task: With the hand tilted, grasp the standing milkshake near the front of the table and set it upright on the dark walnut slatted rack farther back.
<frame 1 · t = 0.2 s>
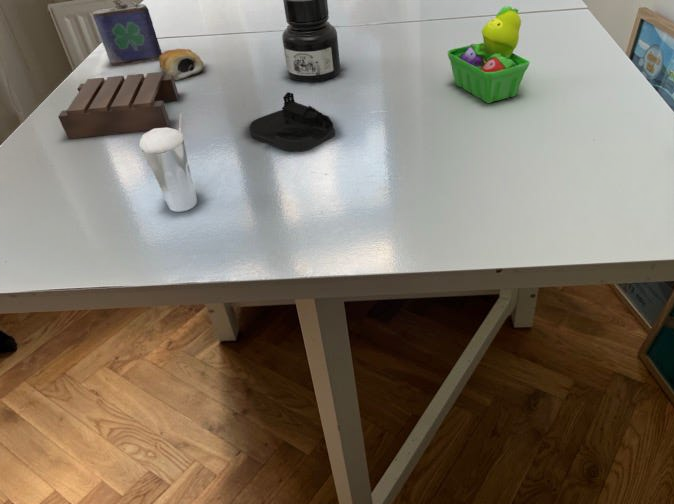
ink bottle: (314, 74, 94), on the table
milkshake: (186, 204, 65), on the table
rack: (126, 116, 84), on the table
fruit basket: (487, 90, 85), on the table
pastry: (181, 72, 97), on the table
flask: (137, 61, 102), on the table
black miniature model: (294, 131, 78), on the table
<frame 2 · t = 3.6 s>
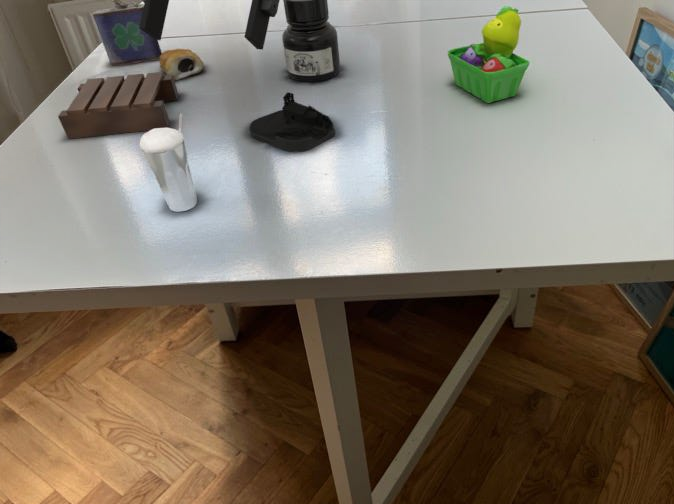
hand: (200, 39, 61), 15 cm above the table, tool tilted 45°, fingers open, 13 cm apart
nothing on the table moved.
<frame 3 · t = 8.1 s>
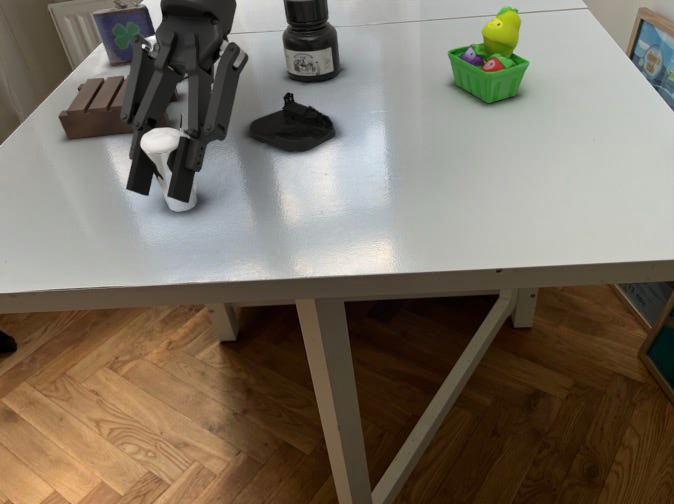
hand: (157, 195, 60), 3 cm above the table, tool tilted 45°, fingers closed on milkshake, 5 cm apart
milkshake: (186, 204, 65), on the table, touching gripper
everything else where it was.
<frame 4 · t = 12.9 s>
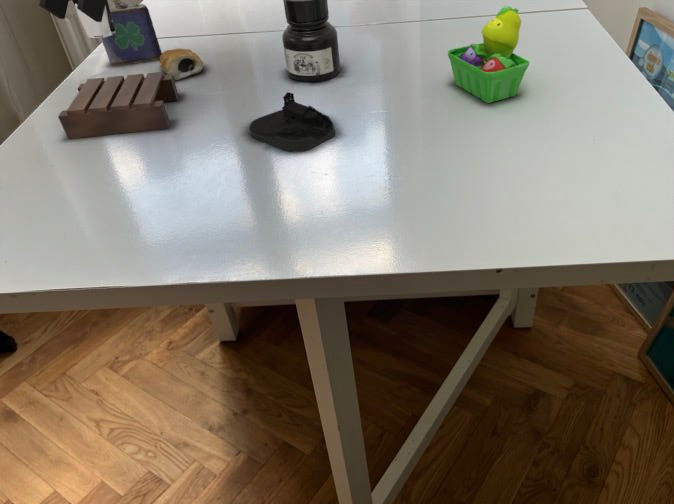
hand: (70, 13, 61), 18 cm above the table, tool tilted 45°, fingers closed on milkshake, 5 cm apart
milkshake: (105, 34, 66), point 15 cm above the table, touching gripper
everything else where it was.
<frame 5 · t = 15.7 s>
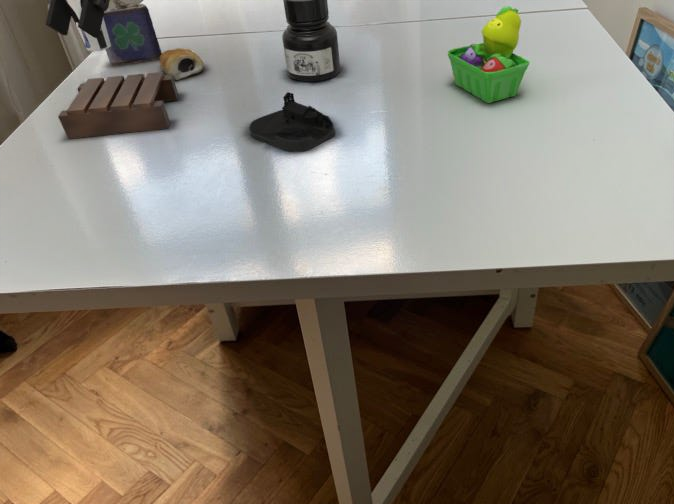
hand: (72, 30, 72), 13 cm above the table, tool tilted 45°, fingers closed on milkshake, 5 cm apart
milkshake: (102, 48, 77), point 10 cm above the table, touching gripper
everything else where it was.
when the fingers open (7 cm above the table, at t = 17.7 s): milkshake stays where it is, resting on rack.
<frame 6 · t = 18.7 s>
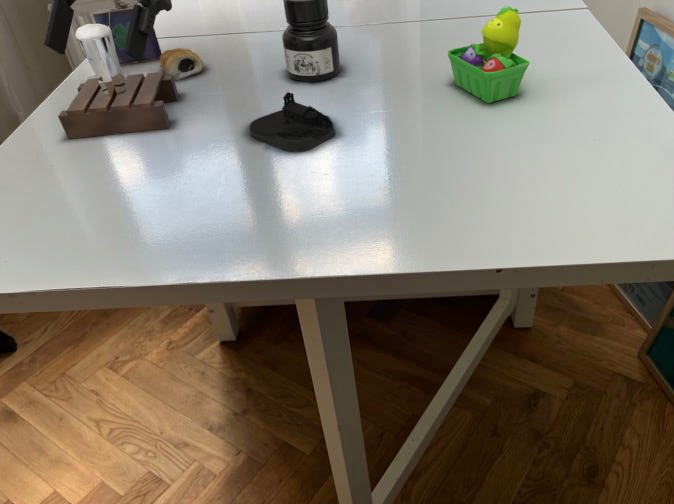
hand: (92, 53, 76), 10 cm above the table, tool tilted 45°, fingers open, 13 cm apart
milkshake: (118, 91, 81), point 4 cm above the table, touching rack
everything else where it was.
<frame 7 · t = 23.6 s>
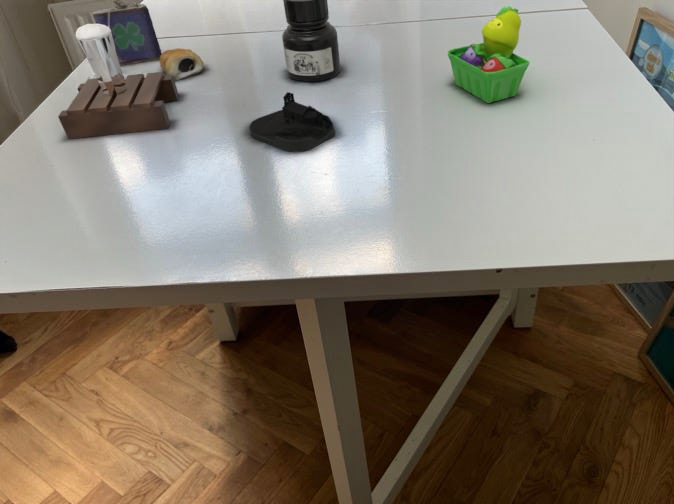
nothing on the table moved.
at the end: milkshake inside the target area on the rack (0.1 cm from its centre), point 3.8 cm above the rack's base; milkshake tilted 0°; the gripper is holding nothing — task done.
